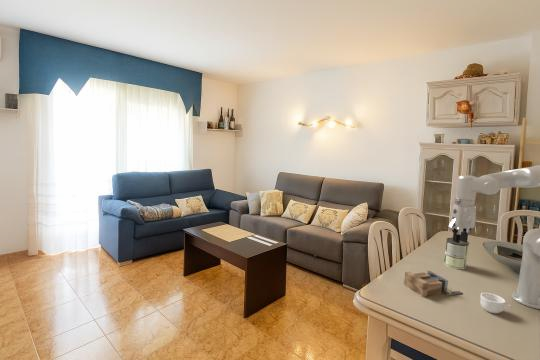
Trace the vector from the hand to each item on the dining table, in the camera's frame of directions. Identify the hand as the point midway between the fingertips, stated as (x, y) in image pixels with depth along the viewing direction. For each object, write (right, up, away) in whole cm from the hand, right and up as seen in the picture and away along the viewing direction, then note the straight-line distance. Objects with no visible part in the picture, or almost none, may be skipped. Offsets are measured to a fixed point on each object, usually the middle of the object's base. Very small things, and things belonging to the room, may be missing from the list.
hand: (459, 241), depth 133 cm
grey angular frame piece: (-15, -21, -2) cm, 25 cm away
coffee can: (+14, -19, +25) cm, 34 cm away
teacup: (+2, -24, -18) cm, 30 cm away
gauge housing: (-13, -21, -2) cm, 25 cm away
